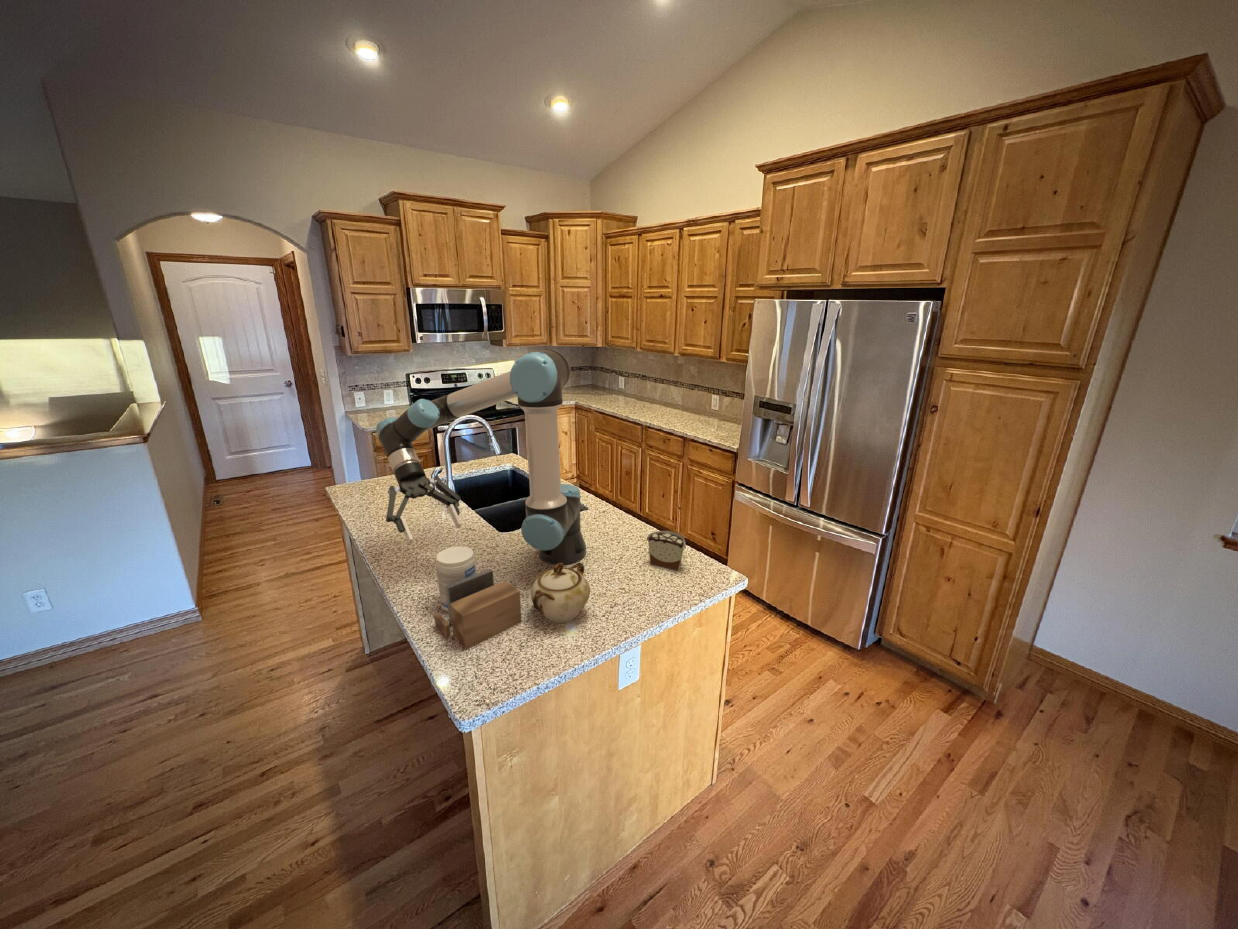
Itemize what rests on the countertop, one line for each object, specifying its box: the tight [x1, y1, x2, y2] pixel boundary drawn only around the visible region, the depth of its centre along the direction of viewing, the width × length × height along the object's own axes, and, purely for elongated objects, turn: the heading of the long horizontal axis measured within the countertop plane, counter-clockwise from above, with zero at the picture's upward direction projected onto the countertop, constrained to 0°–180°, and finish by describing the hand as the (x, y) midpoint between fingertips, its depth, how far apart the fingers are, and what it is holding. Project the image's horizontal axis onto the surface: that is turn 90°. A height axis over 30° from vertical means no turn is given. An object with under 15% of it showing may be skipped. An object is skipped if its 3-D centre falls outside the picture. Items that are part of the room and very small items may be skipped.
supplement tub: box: [435, 546, 477, 612], centre depth 127 cm, size 10×10×15 cm
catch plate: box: [446, 568, 495, 623], centre depth 122 cm, size 2×12×10 cm, turn 134°
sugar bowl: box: [530, 562, 591, 624], centre depth 123 cm, size 20×15×15 cm
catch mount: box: [433, 580, 522, 650], centre depth 120 cm, size 13×18×9 cm
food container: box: [646, 530, 687, 573], centre depth 149 cm, size 12×6×10 cm, turn 65°
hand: (435, 533), depth 131 cm, fingers open, 13 cm apart
